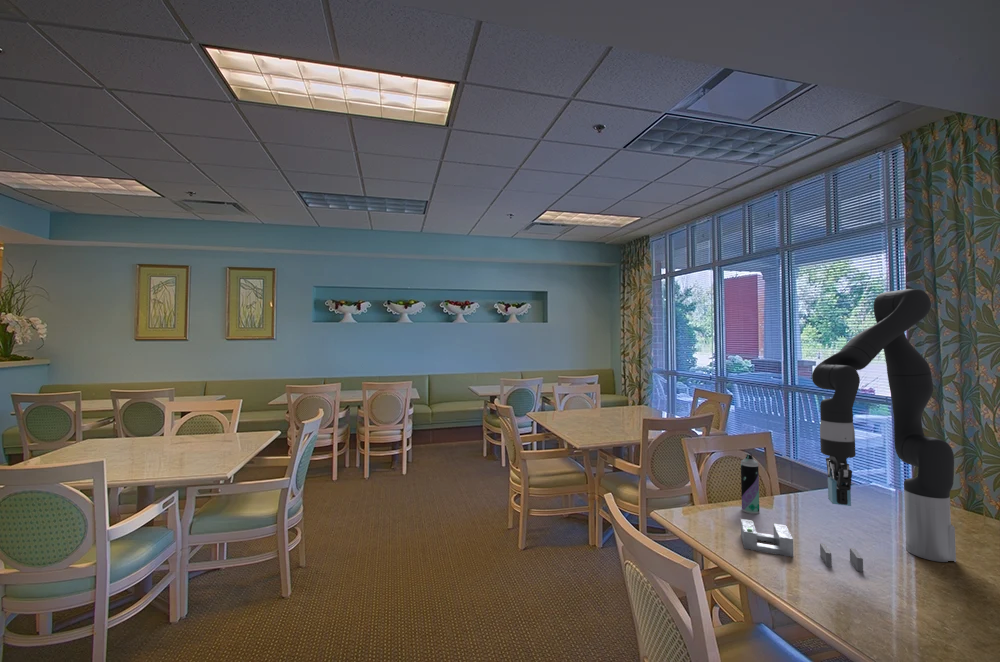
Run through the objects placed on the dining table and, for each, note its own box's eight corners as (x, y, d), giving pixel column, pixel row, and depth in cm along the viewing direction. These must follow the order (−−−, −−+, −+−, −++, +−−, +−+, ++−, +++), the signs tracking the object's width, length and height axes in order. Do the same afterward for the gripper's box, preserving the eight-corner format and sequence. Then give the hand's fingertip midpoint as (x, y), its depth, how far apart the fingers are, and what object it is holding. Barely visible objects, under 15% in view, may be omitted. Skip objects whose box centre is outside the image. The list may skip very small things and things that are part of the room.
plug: (846, 500, 118) (845, 475, 118) (851, 506, 114) (850, 479, 114) (828, 498, 119) (827, 473, 120) (832, 503, 116) (831, 477, 116)
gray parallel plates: (855, 561, 117) (855, 548, 118) (863, 572, 112) (862, 558, 112) (820, 555, 121) (820, 543, 121) (826, 565, 115) (825, 552, 115)
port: (786, 542, 129) (786, 523, 129) (793, 557, 120) (792, 536, 120) (741, 534, 134) (740, 516, 134) (744, 549, 125) (743, 529, 125)
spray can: (742, 512, 152) (740, 455, 152) (741, 507, 157) (740, 452, 157) (760, 515, 149) (758, 457, 150) (759, 509, 154) (757, 453, 155)
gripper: (863, 444, 109) (866, 512, 109) (845, 433, 122) (848, 494, 122) (827, 442, 112) (830, 508, 112) (813, 431, 125) (816, 490, 125)
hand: (839, 500), depth 117 cm, fingers closed on plug, 4 cm apart
